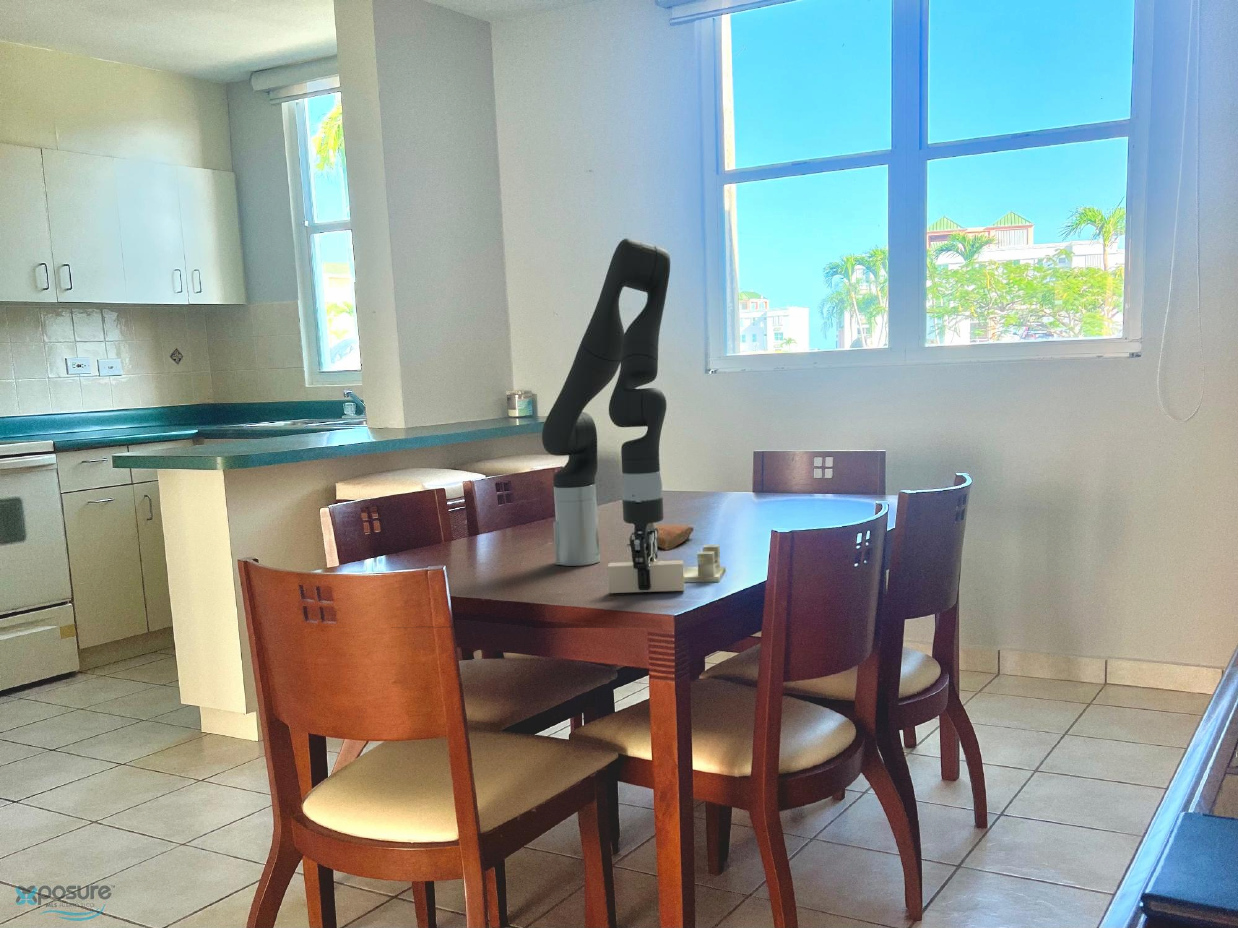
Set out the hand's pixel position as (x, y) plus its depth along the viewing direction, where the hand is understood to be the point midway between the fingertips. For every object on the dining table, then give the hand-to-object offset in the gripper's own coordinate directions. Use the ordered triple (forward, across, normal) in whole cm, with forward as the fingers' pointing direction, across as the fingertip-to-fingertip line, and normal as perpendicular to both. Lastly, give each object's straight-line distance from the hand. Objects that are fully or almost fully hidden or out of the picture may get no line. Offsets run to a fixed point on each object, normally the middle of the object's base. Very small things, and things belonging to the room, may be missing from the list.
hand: (647, 586), depth 192 cm
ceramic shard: (+2, -54, -6) cm, 55 cm away
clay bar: (+1, 0, 0) cm, 1 cm away
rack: (+1, -14, +3) cm, 14 cm away
